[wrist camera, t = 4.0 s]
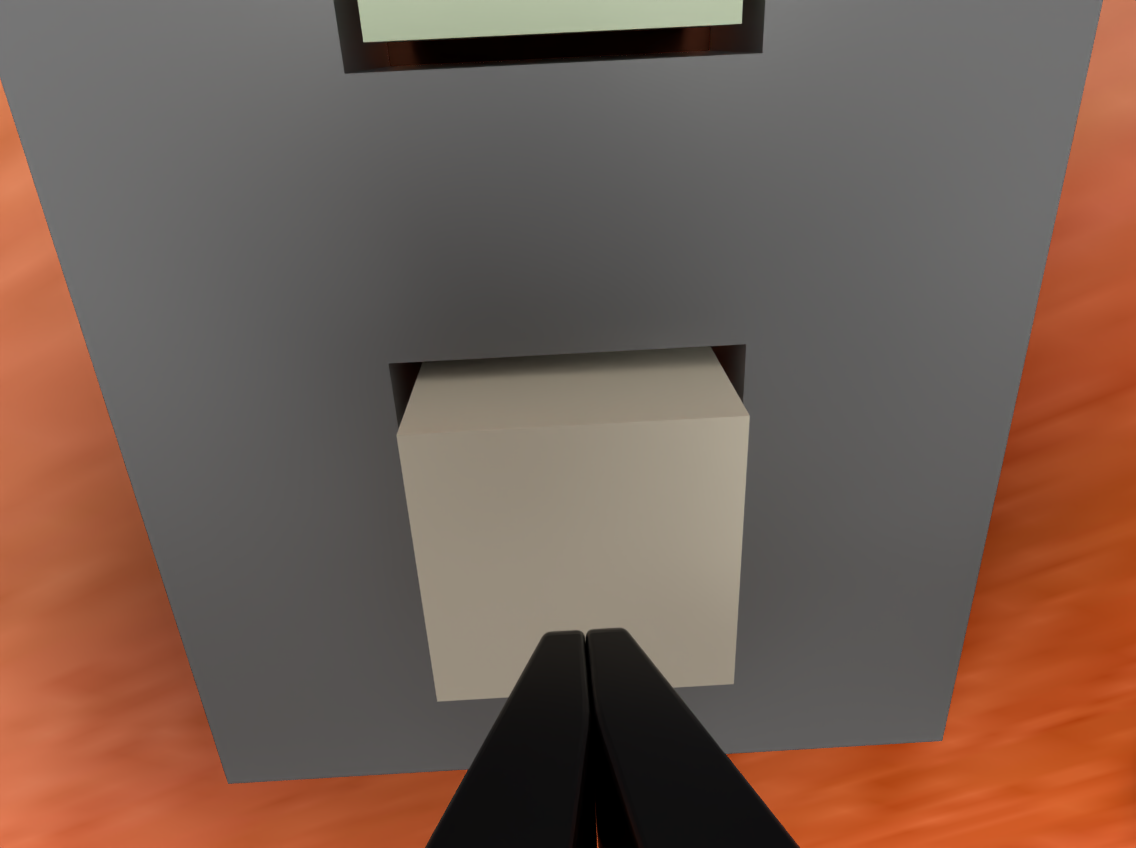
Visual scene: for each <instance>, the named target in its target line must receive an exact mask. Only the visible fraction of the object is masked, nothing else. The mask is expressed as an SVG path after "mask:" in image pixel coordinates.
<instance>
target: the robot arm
mask: <svg viewBox="0 0 1136 848" xmlns="http://www.w3.org/2000/svg"><path fill="white" fill-rule="evenodd" d="M596 825H597V833H596ZM597 837H598V847H599V848H800V847H799V846H798V845H797V843H796V842H795V841H794V840H793V838H792V837H791V836H790V835H789V833H788V832H787V831H786V830H785V828H784V827H783V826H782V825H781V823H780V822H779V821H778V819H777V818H776V817H775V816H774V814H773V813H772V812H771V811H770V809H769V808H768V807H767V806H766V804H765V803H764V802H763V801H762V799H761V798H760V797H759V796H758V794H757V793H756V792H755V791H754V789H753V788H752V787H751V785H750V784H749V783H748V782H747V780H746V779H745V778H744V777H743V775H742V774H741V773H740V772H739V770H738V769H737V768H736V767H735V765H734V764H733V763H732V762H731V760H730V759H729V758H728V756H727V755H726V754H725V753H724V751H723V750H722V749H721V748H720V746H719V745H718V744H717V743H716V741H715V740H714V739H713V738H712V736H711V735H710V734H709V733H708V731H707V730H706V729H705V728H704V726H703V725H702V724H701V722H700V721H699V720H698V719H697V717H696V716H695V715H694V714H693V712H692V711H691V710H690V709H689V707H688V706H687V705H686V704H685V702H684V701H683V700H682V699H681V697H680V696H679V695H678V693H677V692H676V691H675V690H674V688H673V687H672V686H671V685H670V683H669V682H668V681H667V680H666V678H665V677H664V676H663V675H662V673H661V672H660V671H659V670H658V668H657V667H656V666H655V665H654V663H653V662H652V661H651V659H650V658H649V657H648V656H647V654H646V653H645V652H644V651H643V649H642V648H641V647H640V646H639V644H638V643H637V642H636V641H635V639H634V638H633V637H632V636H631V634H630V633H629V632H628V631H627V630H626V629H624V628H620V627H618V628H601V629H590V630H589V631H587V633H586V637H585V635H584V633H583V632H582V631H580V630H566V631H550V632H547V633H545V634H544V635H543V636H542V638H541V639H540V641H539V643H538V645H537V646H536V648H535V650H534V652H533V654H532V655H531V657H530V659H529V661H528V663H527V664H526V666H525V668H524V670H523V672H522V674H521V675H520V677H519V679H518V681H517V683H516V684H515V686H514V688H513V690H512V692H511V693H510V695H509V697H508V699H507V701H506V702H505V704H504V706H503V708H502V710H501V711H500V713H499V715H498V717H497V719H496V720H495V722H494V724H493V726H492V728H491V730H490V731H489V733H488V735H487V737H486V739H485V740H484V742H483V744H482V746H481V748H480V749H479V751H478V753H477V755H476V757H475V758H474V760H473V762H472V764H471V766H470V767H469V769H468V771H467V773H466V775H465V776H464V778H463V780H462V782H461V784H460V785H459V787H458V789H457V791H456V793H455V795H454V796H453V798H452V800H451V802H450V804H449V805H448V807H447V809H446V811H445V813H444V814H443V816H442V818H441V820H440V822H439V823H438V825H437V827H436V829H435V831H434V832H433V834H432V836H431V838H430V840H429V841H428V843H427V845H426V847H425V848H597Z"/></svg>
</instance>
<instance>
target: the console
mask: <svg viewBox="0 0 1136 848" xmlns="http://www.w3.org/2000/svg"><path fill="white" fill-rule="evenodd" d="M1102 2H1103V0H743V7H742V24H732V25H721V26H710V50H707V51H687V52H667V53H647V54H626V55H606V56H586V57H566V58H545V59H525V60H505V61H484V62H464V63H444V64H424V65H403V66H390V62H389V55H388V47H387V42H363V36H362V29H361V22H360V14H359V7H358V0H0V79H1V82H2V85H3V88H4V91H5V94H6V97H7V100H8V103H9V107H10V110H11V113H12V116H13V119H14V122H15V125H16V128H17V131H18V134H19V137H20V141H21V144H22V147H23V150H24V153H25V156H26V159H27V162H28V165H29V168H30V172H31V175H32V178H33V181H34V184H35V187H36V190H37V193H38V196H39V199H40V203H41V206H42V209H43V212H44V215H45V218H46V221H47V224H48V227H49V230H50V233H51V237H52V240H53V243H54V246H55V249H56V252H57V255H58V258H59V261H60V264H61V268H62V271H63V274H64V277H65V280H66V283H67V286H68V289H69V292H70V295H71V298H72V302H73V305H74V308H75V311H76V314H77V317H78V320H79V323H80V326H81V329H82V333H83V336H84V339H85V342H86V345H87V348H88V351H89V354H90V357H91V360H92V363H93V367H94V370H95V373H96V376H97V379H98V382H99V385H100V388H101V391H102V394H103V398H104V401H105V404H106V407H107V410H108V413H109V416H110V419H111V422H112V425H113V429H114V432H115V435H116V438H117V441H118V444H119V447H120V450H121V453H122V456H123V459H124V463H125V466H126V469H127V472H128V475H129V478H130V481H131V484H132V487H133V490H134V494H135V497H136V500H137V503H138V506H139V509H140V512H141V515H142V518H143V521H144V524H145V528H146V531H147V534H148V537H149V540H150V543H151V546H152V549H153V552H154V555H155V559H156V562H157V565H158V568H159V571H160V574H161V577H162V580H163V583H164V586H165V590H166V593H167V596H168V599H169V602H170V605H171V608H172V611H173V614H174V617H175V620H176V624H177V627H178V630H179V633H180V636H181V639H182V642H183V645H184V648H185V651H186V655H187V658H188V661H189V664H190V667H191V670H192V673H193V676H194V679H195V682H196V685H197V689H198V692H199V695H200V698H201V701H202V704H203V707H204V710H205V713H206V716H207V720H208V723H209V726H210V729H211V732H212V735H213V738H214V741H215V744H216V747H217V751H218V754H219V757H220V760H221V763H222V766H223V769H224V772H225V775H226V778H227V781H228V784H232V783H249V782H265V781H282V780H299V779H315V778H332V777H349V776H365V775H382V774H399V773H415V772H432V771H449V770H465V769H469V767H470V766H471V764H472V762H473V760H474V758H475V757H476V755H477V753H478V751H479V749H480V748H481V746H482V744H483V742H484V740H485V739H486V737H487V735H488V733H489V731H490V730H491V728H492V726H493V724H494V722H495V720H496V719H497V717H498V715H499V713H500V711H501V710H502V708H503V706H504V704H505V702H506V701H507V699H508V697H507V698H490V699H473V700H456V701H439V702H437V697H436V690H435V684H434V677H433V671H432V664H431V658H430V651H429V645H428V638H427V632H426V625H425V619H424V612H423V605H422V599H421V592H420V586H419V579H418V573H417V566H416V560H415V553H414V547H413V540H412V534H411V527H410V521H409V514H408V508H407V501H406V494H405V488H404V481H403V475H402V468H401V462H400V455H399V449H398V442H397V436H396V435H397V432H398V429H399V427H400V424H401V421H402V418H403V415H404V413H405V410H406V407H407V404H408V402H409V399H410V396H411V393H412V390H413V388H414V385H415V382H416V379H417V376H418V374H419V371H420V368H421V365H422V362H426V361H444V360H463V359H482V358H500V357H519V356H537V355H556V354H574V353H593V352H612V351H630V350H649V349H667V348H686V347H704V346H710V347H711V348H712V350H713V352H714V354H715V355H716V357H717V359H718V361H719V362H720V364H721V366H722V368H723V369H724V371H725V373H726V375H727V376H728V378H729V380H730V382H731V384H732V385H733V387H734V389H735V391H736V392H737V394H738V396H739V398H740V399H741V401H742V403H743V405H744V406H745V408H746V410H747V412H748V414H749V415H750V422H749V438H748V455H747V472H746V488H745V505H744V522H743V538H742V555H741V572H740V589H739V605H738V622H737V639H736V655H735V672H734V684H727V685H710V686H693V687H676V688H674V690H675V691H676V692H677V693H678V695H679V696H680V697H681V699H682V700H683V701H684V702H685V704H686V705H687V706H688V707H689V709H690V710H691V711H692V712H693V714H694V715H695V716H696V717H697V719H698V720H699V721H700V722H701V724H702V725H703V726H704V728H705V729H706V730H707V731H708V733H709V734H710V735H711V736H712V738H713V739H714V740H715V741H716V743H717V744H718V745H719V746H720V748H721V749H722V750H723V751H724V753H725V754H732V753H749V752H765V751H782V750H799V749H815V748H832V747H849V746H865V745H882V744H899V743H915V742H932V741H942V740H943V735H944V730H945V726H946V721H947V716H948V712H949V707H950V703H951V698H952V693H953V689H954V684H955V680H956V675H957V670H958V666H959V661H960V657H961V652H962V647H963V643H964V638H965V634H966V629H967V624H968V620H969V615H970V610H971V606H972V601H973V597H974V592H975V587H976V583H977V578H978V574H979V569H980V564H981V560H982V555H983V551H984V546H985V541H986V537H987V532H988V528H989V523H990V518H991V514H992V509H993V504H994V500H995V495H996V491H997V486H998V481H999V477H1000V472H1001V468H1002V463H1003V458H1004V454H1005V449H1006V445H1007V440H1008V435H1009V431H1010V426H1011V422H1012V417H1013V412H1014V408H1015V403H1016V398H1017V394H1018V389H1019V385H1020V380H1021V375H1022V371H1023V366H1024V362H1025V357H1026V352H1027V348H1028V343H1029V339H1030V334H1031V329H1032V325H1033V320H1034V316H1035V311H1036V306H1037V302H1038V297H1039V292H1040V288H1041V283H1042V279H1043V274H1044V269H1045V265H1046V260H1047V256H1048V251H1049V246H1050V242H1051V237H1052V233H1053V228H1054V223H1055V219H1056V214H1057V210H1058V205H1059V200H1060V196H1061V191H1062V186H1063V182H1064V177H1065V173H1066V168H1067V163H1068V159H1069V154H1070V150H1071V145H1072V140H1073V136H1074V131H1075V127H1076V122H1077V117H1078V113H1079V108H1080V104H1081V99H1082V94H1083V90H1084V85H1085V80H1086V76H1087V71H1088V67H1089V62H1090V57H1091V53H1092V48H1093V44H1094V39H1095V34H1096V30H1097V25H1098V21H1099V16H1100V11H1101V7H1102Z"/></svg>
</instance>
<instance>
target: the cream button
mask: <svg viewBox="0 0 1136 848" xmlns="http://www.w3.org/2000/svg"><path fill="white" fill-rule="evenodd" d="M749 422H750V415H749V414H748V412H747V410H746V408H745V406H744V405H743V403H742V401H741V399H740V398H739V396H738V394H737V392H736V391H735V389H734V387H733V385H732V384H731V382H730V380H729V378H728V376H727V375H726V373H725V371H724V369H723V368H722V366H721V364H720V362H719V361H718V359H717V357H716V355H715V354H714V352H713V350H712V348H711V347H710V346H704V347H686V348H667V349H649V350H630V351H612V352H593V353H574V354H556V355H537V356H519V357H500V358H482V359H463V360H444V361H426V362H422V365H421V368H420V371H419V374H418V376H417V379H416V382H415V385H414V388H413V390H412V393H411V396H410V399H409V402H408V404H407V407H406V410H405V413H404V415H403V418H402V421H401V424H400V427H399V429H398V432H397V435H396V436H397V442H398V449H399V455H400V462H401V468H402V475H403V481H404V488H405V494H406V501H407V508H408V514H409V521H410V527H411V534H412V540H413V547H414V553H415V560H416V566H417V573H418V579H419V586H420V592H421V599H422V605H423V612H424V619H425V625H426V632H427V638H428V645H429V651H430V658H431V664H432V671H433V677H434V684H435V690H436V697H437V702H439V701H456V700H473V699H490V698H507V697H509V695H510V693H511V692H512V690H513V688H514V686H515V684H516V683H517V681H518V679H519V677H520V675H521V674H522V672H523V670H524V668H525V666H526V664H527V663H528V661H529V659H530V657H531V655H532V654H533V652H534V650H535V648H536V646H537V645H538V643H539V641H540V639H541V638H542V636H543V635H544V634H545V633H547V632H550V631H566V630H580V631H582V632H583V633H584V635H585V637H586V633H587V631H589V630H590V629H601V628H618V627H620V628H624V629H626V630H627V631H628V632H629V633H630V634H631V636H632V637H633V638H634V639H635V641H636V642H637V643H638V644H639V646H640V647H641V648H642V649H643V651H644V652H645V653H646V654H647V656H648V657H649V658H650V659H651V661H652V662H653V663H654V665H655V666H656V667H657V668H658V670H659V671H660V672H661V673H662V675H663V676H664V677H665V678H666V680H667V681H668V682H669V683H670V685H671V686H672V687H673V688H676V687H693V686H710V685H727V684H734V672H735V655H736V639H737V622H738V605H739V589H740V572H741V555H742V538H743V522H744V505H745V488H746V472H747V455H748V438H749Z"/></svg>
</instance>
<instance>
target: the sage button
mask: <svg viewBox="0 0 1136 848" xmlns="http://www.w3.org/2000/svg"><path fill="white" fill-rule="evenodd" d="M358 7H359V14H360V22H361V29H362V36H363V42H411V41H431V40H451V39H472V38H492V37H513V36H533V35H553V34H574V33H594V32H615V31H635V30H655V29H676V28H696V27H709V26H721V25H732V24H742V7H743V0H358Z"/></svg>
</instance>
